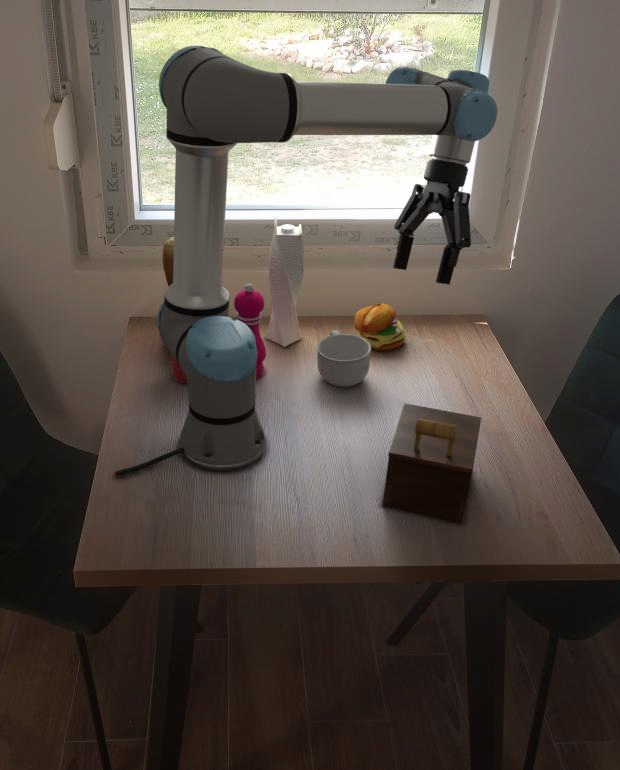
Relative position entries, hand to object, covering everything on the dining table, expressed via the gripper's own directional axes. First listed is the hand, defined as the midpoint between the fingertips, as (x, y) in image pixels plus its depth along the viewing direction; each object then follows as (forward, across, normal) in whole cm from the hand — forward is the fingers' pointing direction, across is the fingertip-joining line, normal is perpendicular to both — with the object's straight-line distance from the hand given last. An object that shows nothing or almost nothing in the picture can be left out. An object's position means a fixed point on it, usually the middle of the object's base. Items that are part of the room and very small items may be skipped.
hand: (420, 276), depth 150 cm
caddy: (+32, -26, +8) cm, 42 cm away
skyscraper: (+22, +31, +9) cm, 39 cm away
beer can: (+30, +24, +33) cm, 51 cm away
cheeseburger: (+18, +20, -10) cm, 29 cm away
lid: (+22, -28, +11) cm, 37 cm away
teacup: (+24, +12, +4) cm, 27 cm away
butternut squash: (+26, +38, +27) cm, 53 cm away
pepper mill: (+27, +21, +21) cm, 40 cm away
